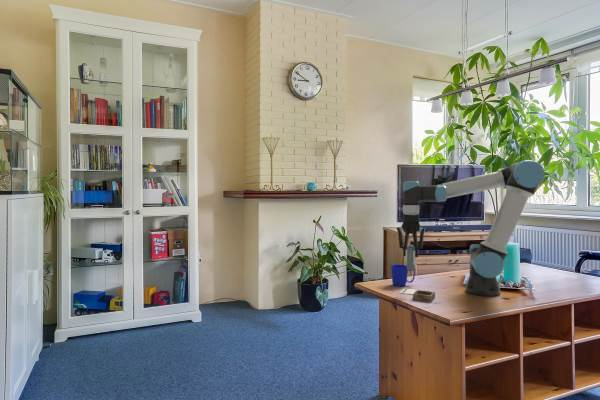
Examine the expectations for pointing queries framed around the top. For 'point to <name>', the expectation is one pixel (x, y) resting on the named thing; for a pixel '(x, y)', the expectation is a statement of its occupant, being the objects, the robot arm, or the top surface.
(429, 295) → the tray
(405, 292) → the paper
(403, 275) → the mug
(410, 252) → the marker
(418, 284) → the top surface
